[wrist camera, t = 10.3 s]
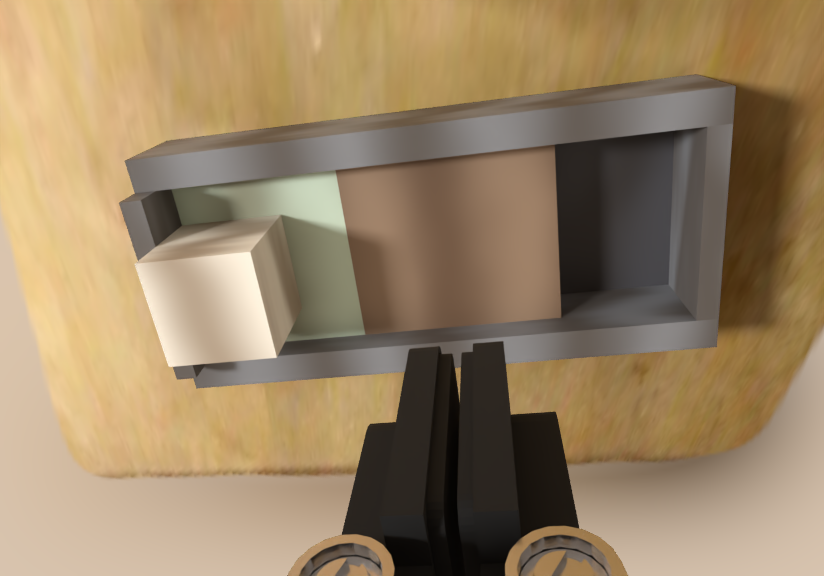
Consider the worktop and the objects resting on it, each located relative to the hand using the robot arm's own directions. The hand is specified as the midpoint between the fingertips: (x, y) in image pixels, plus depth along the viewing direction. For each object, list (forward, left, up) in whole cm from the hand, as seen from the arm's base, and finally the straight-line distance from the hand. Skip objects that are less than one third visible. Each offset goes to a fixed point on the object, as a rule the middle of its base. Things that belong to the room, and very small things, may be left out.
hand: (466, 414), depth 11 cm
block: (+11, +4, -19) cm, 22 cm away
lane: (+2, +4, -22) cm, 22 cm away
